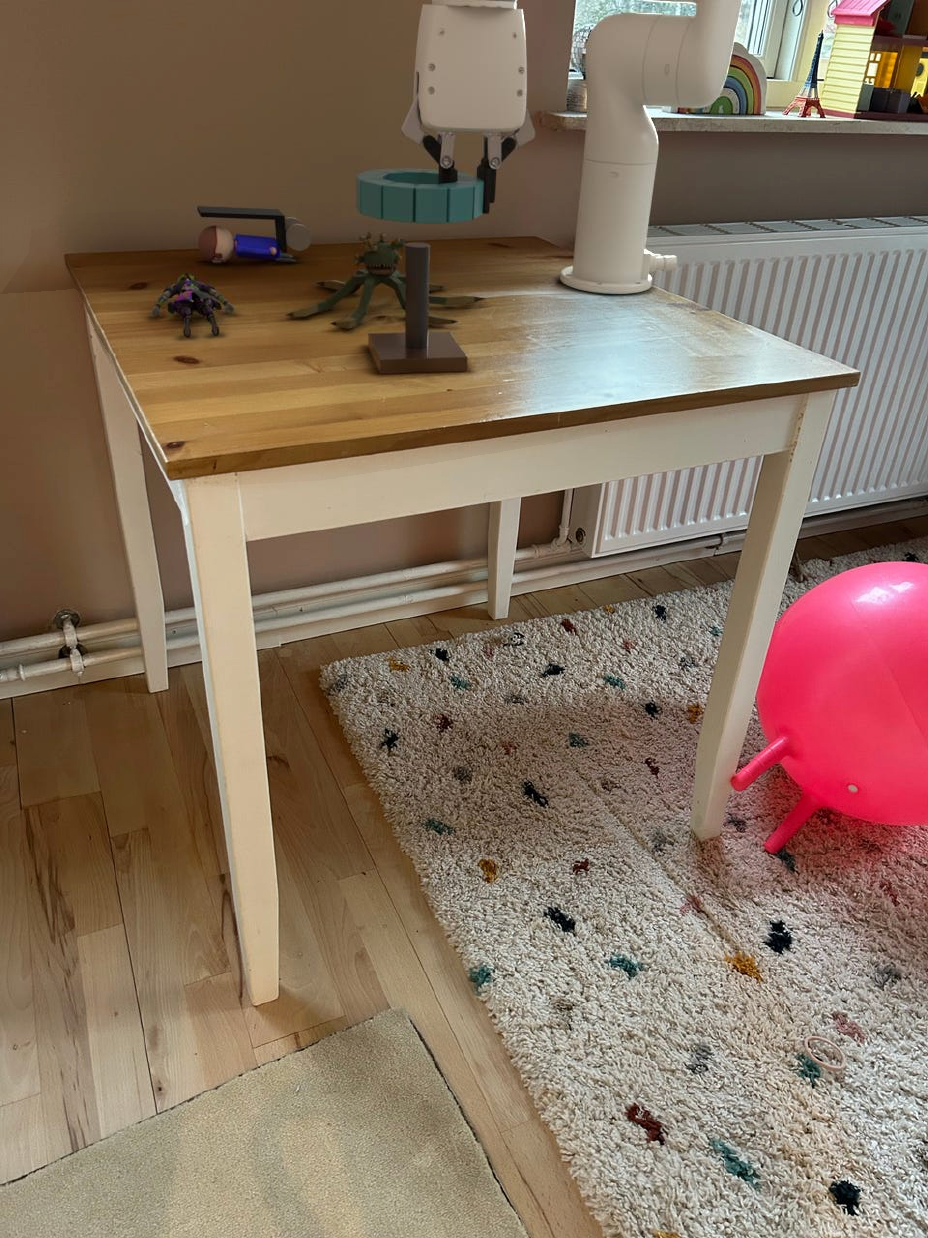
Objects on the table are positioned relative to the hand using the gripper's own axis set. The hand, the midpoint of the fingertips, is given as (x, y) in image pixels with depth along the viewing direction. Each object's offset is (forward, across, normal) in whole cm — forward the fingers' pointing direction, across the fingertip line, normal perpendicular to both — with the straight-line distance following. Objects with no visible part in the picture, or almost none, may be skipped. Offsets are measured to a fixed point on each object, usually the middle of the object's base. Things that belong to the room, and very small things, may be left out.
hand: (465, 209), depth 94 cm
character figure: (+15, +28, -18) cm, 36 cm away
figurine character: (+15, +20, -45) cm, 51 cm away
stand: (+15, +5, 0) cm, 16 cm away
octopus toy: (+15, +5, -20) cm, 26 cm away
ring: (0, +5, 0) cm, 5 cm away
